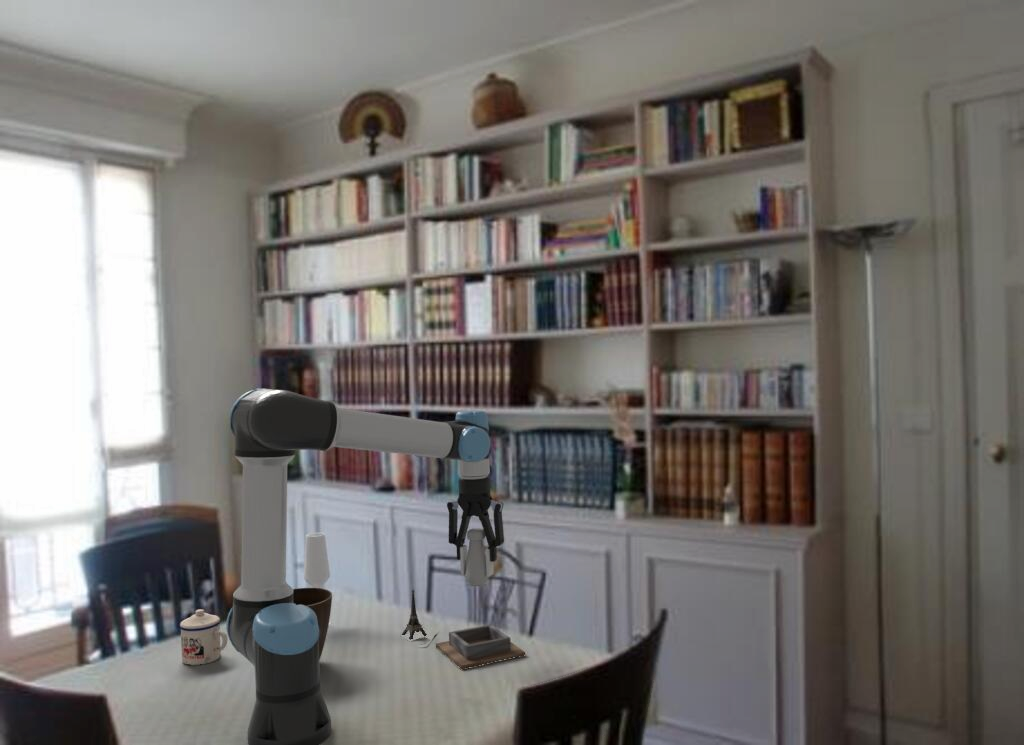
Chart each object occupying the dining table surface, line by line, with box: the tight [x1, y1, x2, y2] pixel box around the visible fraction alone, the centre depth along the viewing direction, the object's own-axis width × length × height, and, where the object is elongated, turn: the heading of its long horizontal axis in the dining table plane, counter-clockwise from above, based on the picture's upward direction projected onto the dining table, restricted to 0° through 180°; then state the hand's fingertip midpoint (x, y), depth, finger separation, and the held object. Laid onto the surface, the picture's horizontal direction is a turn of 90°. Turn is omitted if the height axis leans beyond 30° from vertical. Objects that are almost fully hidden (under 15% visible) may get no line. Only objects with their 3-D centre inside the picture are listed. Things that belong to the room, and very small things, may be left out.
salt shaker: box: [464, 527, 490, 587], centre depth 192 cm, size 6×6×13 cm
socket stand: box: [435, 623, 526, 670], centre depth 192 cm, size 16×16×4 cm
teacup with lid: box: [179, 609, 228, 666], centre depth 193 cm, size 12×9×12 cm
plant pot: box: [293, 587, 333, 662], centre depth 187 cm, size 15×15×16 cm
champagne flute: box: [303, 532, 332, 627], centre depth 215 cm, size 7×7×24 cm
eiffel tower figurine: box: [401, 588, 427, 640], centre depth 204 cm, size 15×10×13 cm
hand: (477, 574), depth 192 cm, fingers closed on salt shaker, 6 cm apart
